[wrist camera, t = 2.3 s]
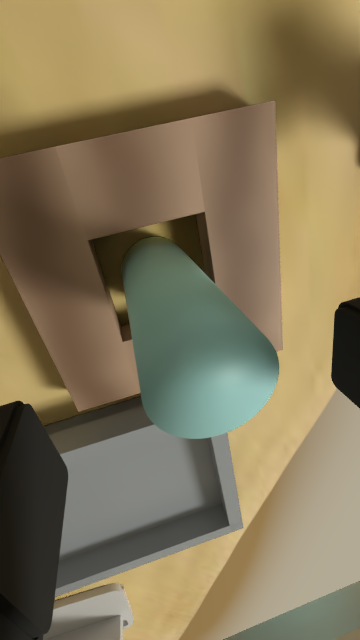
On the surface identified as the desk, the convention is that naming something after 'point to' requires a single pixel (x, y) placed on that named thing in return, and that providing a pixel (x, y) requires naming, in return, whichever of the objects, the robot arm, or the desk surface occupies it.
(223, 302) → the dowel
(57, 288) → the socket
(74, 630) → the grey holder stand
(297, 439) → the desk surface
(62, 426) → the tray
